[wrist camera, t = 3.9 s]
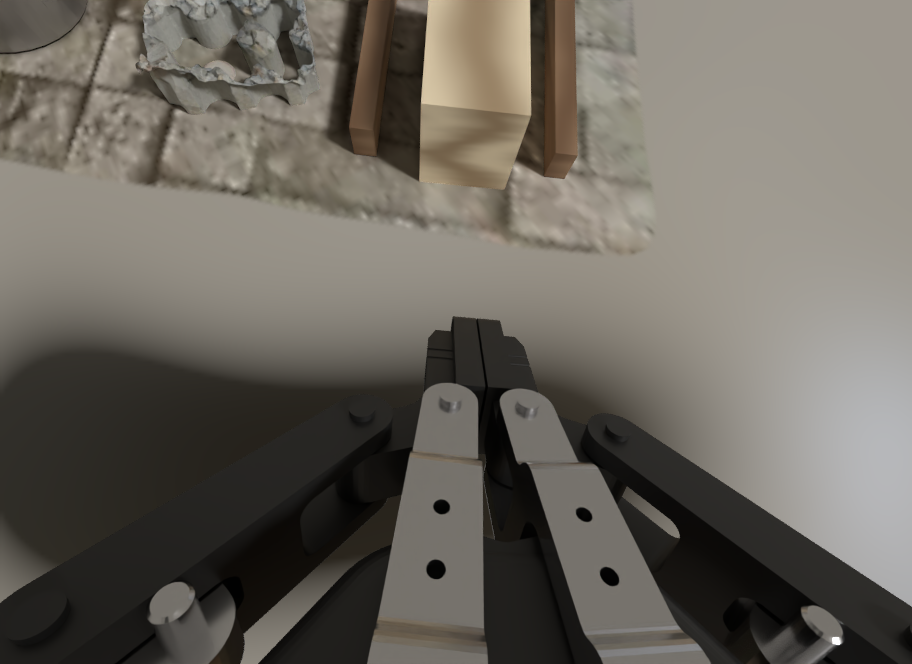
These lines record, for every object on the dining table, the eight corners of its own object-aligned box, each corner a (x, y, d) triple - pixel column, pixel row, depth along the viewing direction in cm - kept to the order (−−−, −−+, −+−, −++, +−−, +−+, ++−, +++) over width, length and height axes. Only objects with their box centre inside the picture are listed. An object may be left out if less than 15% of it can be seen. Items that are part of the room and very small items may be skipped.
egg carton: (165, 122, 28) (123, 70, 24) (166, 35, 30) (127, -27, 26) (325, 112, 29) (310, 61, 25) (317, 30, 31) (302, -30, 27)
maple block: (419, 182, 28) (421, 103, 22) (428, 47, 31) (432, -59, 25) (503, 190, 29) (531, 115, 22) (505, 57, 32) (529, -45, 25)
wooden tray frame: (354, 153, 28) (347, 121, 25) (387, -66, 34) (384, -114, 31) (564, 178, 29) (580, 150, 27) (562, -38, 35) (575, -81, 32)
